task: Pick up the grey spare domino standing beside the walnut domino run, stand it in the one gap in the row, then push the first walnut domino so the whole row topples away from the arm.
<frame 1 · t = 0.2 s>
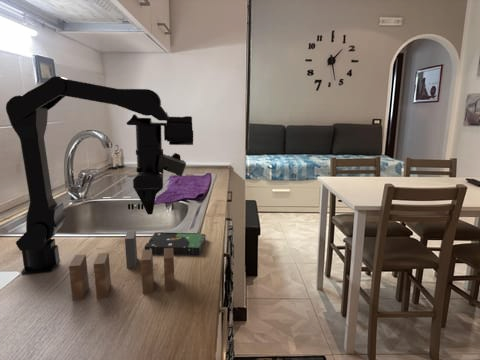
hand: (150, 208, 82), 13 cm above the counter, tool pointing down, fingers open, 9 cm apart
domino 5: (169, 284, 73), on the counter
domino 1: (81, 293, 69), on the counter
domino 2: (104, 291, 70), on the counter
disk drive: (176, 249, 93), on the counter
domino 4: (148, 286, 72), on the counter
spare domino: (132, 263, 82), on the counter
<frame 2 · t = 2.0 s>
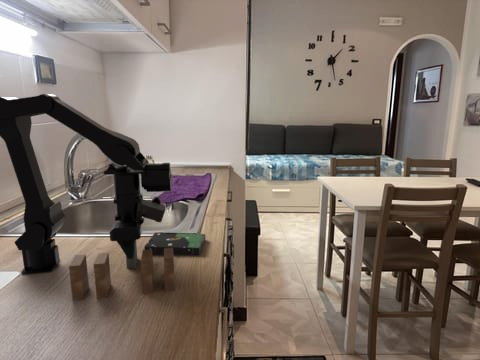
hand: (131, 253, 82), 3 cm above the counter, tool pointing down, fingers closed on spare domino, 5 cm apart
spare domino: (132, 263, 83), on the counter, touching gripper
everything else where it was.
when the fingers open (4 cm above the counter, at t = 6.2 s): spare domino drops 1 cm, on the counter.
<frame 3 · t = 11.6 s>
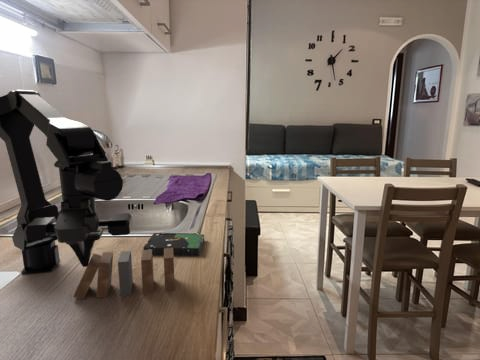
hand: (85, 265, 68), 6 cm above the counter, tool pointing down, fingers closed
domino 1: (81, 291, 69), on the counter, tilted 26°
domino 2: (104, 290, 70), on the counter, tilted 7°
spare domino: (126, 289, 71), on the counter
everything else where it was.
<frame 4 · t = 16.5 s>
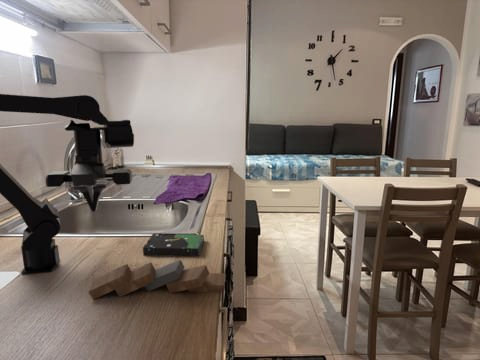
hand: (94, 211, 84), 12 cm above the counter, tool pointing down, fingers closed
domino 5: (190, 283, 73), on the counter, tilted 90°, touching domino 4
domino 1: (93, 289, 69), point 1 cm above the counter, tilted 67°, touching domino 2
domino 2: (119, 286, 70), point 1 cm above the counter, tilted 67°, touching domino 1, spare domino
domino 4: (173, 281, 72), point 1 cm above the counter, tilted 70°, touching domino 5
spare domino: (149, 281, 72), point 1 cm above the counter, tilted 65°, touching domino 2
everything else where it was.
at the end: domino 5 tilted 90°; spare domino tilted 65°; spare domino inside the target area (3.4 cm from its centre), point 0.9 cm above the counter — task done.
